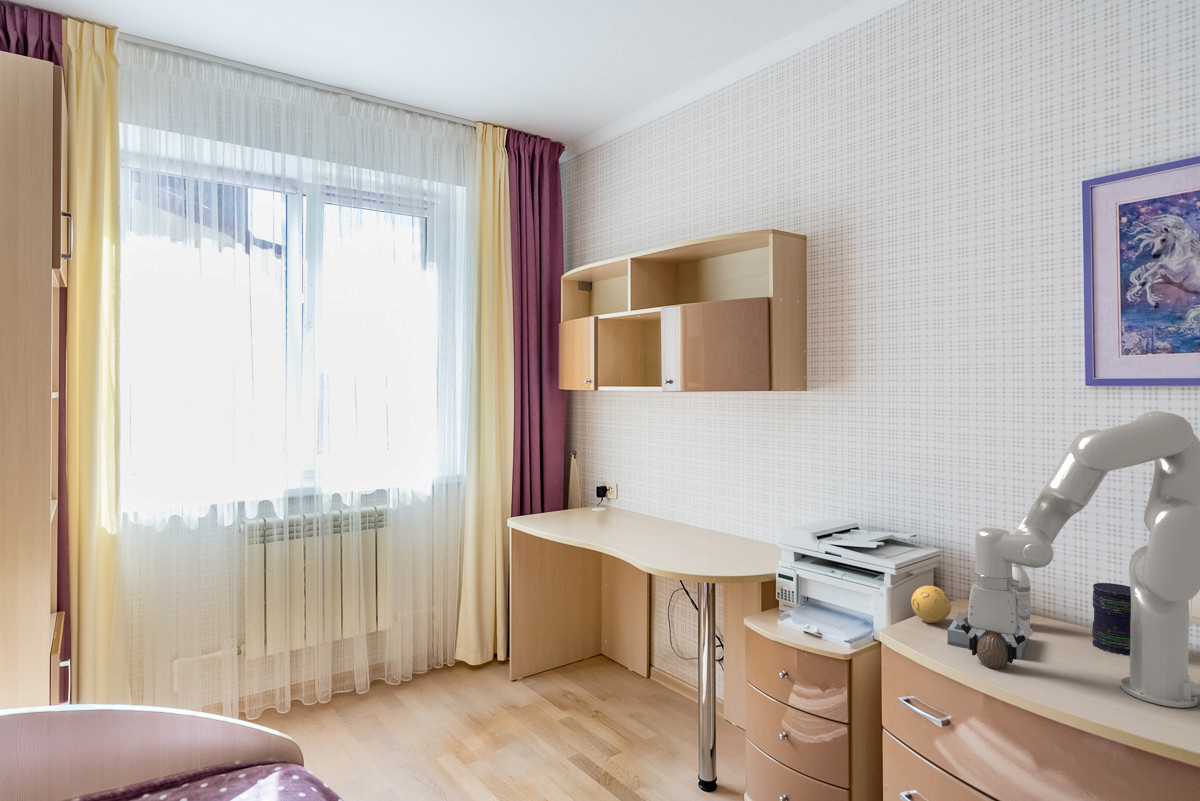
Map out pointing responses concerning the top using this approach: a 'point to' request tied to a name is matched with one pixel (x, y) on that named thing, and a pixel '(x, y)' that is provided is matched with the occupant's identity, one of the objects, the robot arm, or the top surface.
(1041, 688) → the top surface
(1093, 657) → the top surface
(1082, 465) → the robot arm
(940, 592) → the stress ball
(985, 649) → the vase
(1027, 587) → the bath foam
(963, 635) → the bin
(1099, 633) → the storage jar
